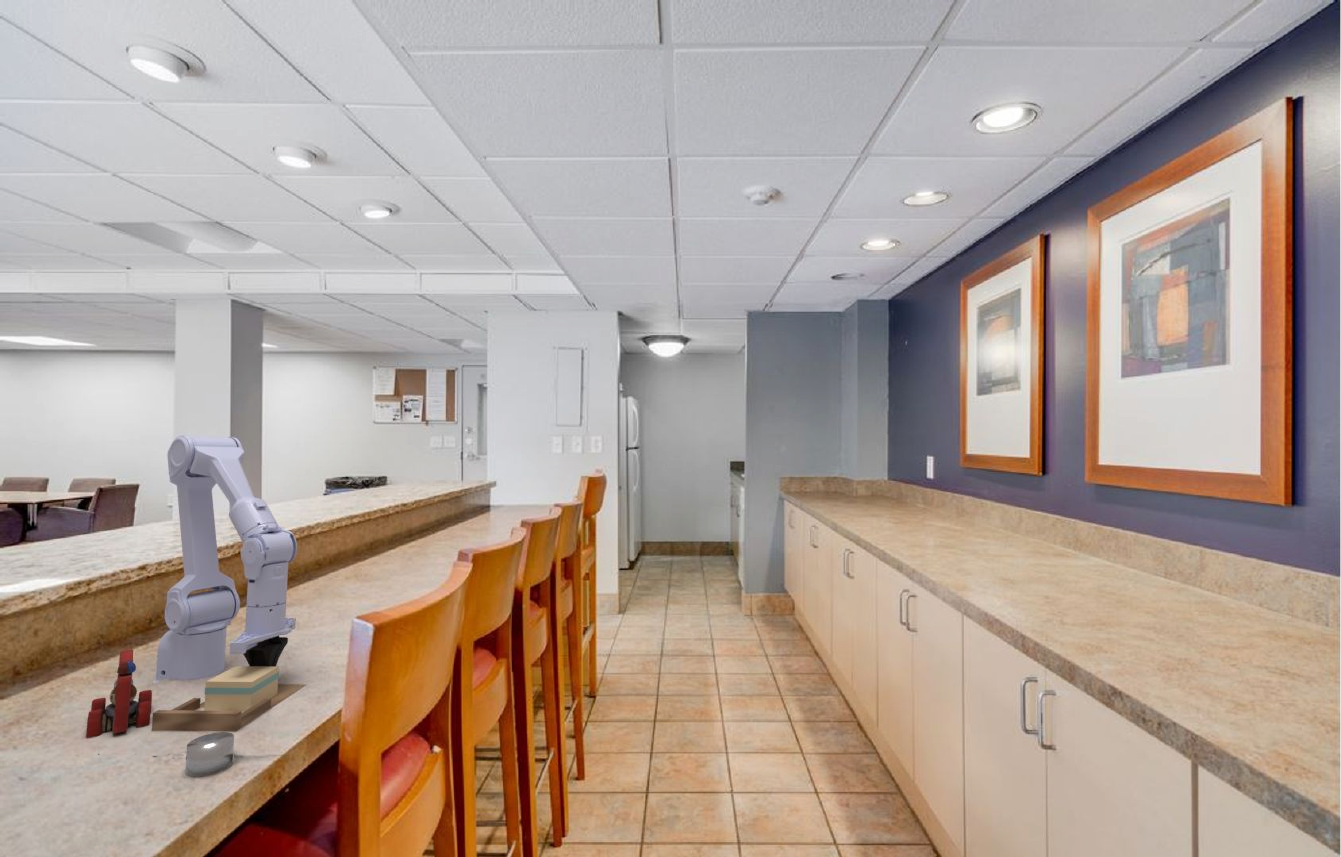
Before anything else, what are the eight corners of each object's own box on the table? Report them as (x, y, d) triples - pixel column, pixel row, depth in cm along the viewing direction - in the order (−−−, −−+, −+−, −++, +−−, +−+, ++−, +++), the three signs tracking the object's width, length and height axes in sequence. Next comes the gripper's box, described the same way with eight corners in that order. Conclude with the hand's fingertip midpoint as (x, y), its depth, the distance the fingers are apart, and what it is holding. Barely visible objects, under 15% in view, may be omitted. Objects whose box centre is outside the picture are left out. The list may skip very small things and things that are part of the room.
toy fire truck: (83, 751, 83) (88, 674, 84) (91, 720, 93) (95, 651, 93) (149, 737, 88) (154, 664, 88) (151, 708, 97) (154, 643, 98)
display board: (151, 737, 88) (152, 712, 88) (236, 689, 106) (237, 669, 106) (235, 738, 88) (237, 713, 88) (306, 690, 106) (307, 669, 106)
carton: (203, 711, 94) (205, 681, 95) (234, 693, 102) (236, 665, 102) (250, 711, 95) (251, 682, 95) (277, 693, 102) (279, 666, 102)
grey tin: (175, 777, 77) (176, 749, 78) (204, 758, 82) (205, 731, 83) (215, 778, 78) (216, 750, 78) (241, 758, 83) (242, 732, 83)
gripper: (263, 614, 97) (259, 701, 96) (313, 593, 111) (310, 668, 111) (218, 614, 96) (213, 700, 96) (274, 593, 111) (270, 668, 110)
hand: (262, 683), depth 103 cm, fingers closed
